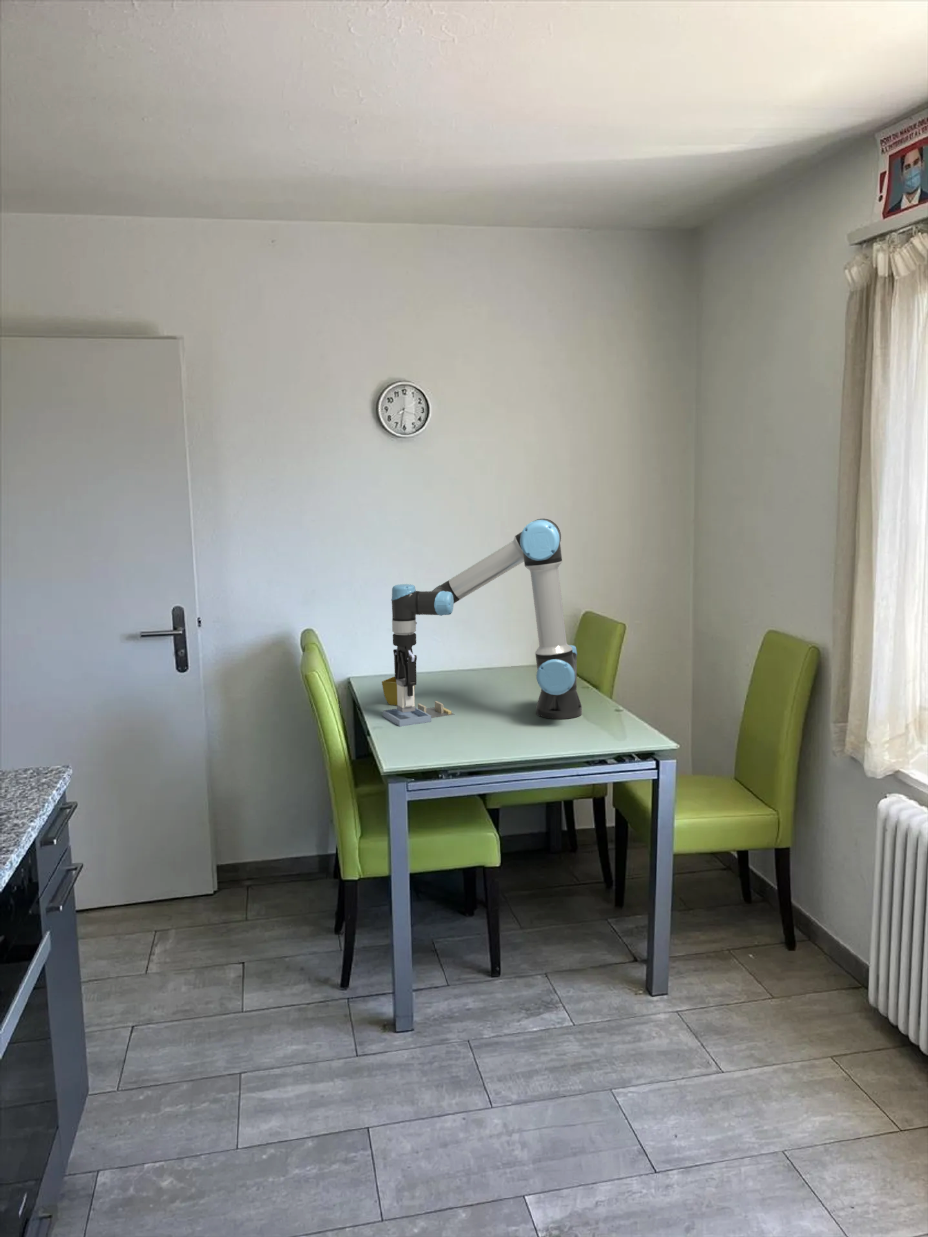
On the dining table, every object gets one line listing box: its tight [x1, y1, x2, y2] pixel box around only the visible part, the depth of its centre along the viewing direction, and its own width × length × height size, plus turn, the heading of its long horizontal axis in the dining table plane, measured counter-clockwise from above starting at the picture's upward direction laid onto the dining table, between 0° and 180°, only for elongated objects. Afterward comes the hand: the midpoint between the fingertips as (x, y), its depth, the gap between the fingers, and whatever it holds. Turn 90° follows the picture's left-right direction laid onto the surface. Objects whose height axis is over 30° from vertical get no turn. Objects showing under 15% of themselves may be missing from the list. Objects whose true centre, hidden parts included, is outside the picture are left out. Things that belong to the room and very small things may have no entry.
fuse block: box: [417, 700, 455, 719], centre depth 303 cm, size 12×10×4 cm
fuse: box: [396, 678, 416, 713], centre depth 294 cm, size 4×4×10 cm
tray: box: [382, 706, 432, 727], centre depth 295 cm, size 14×11×2 cm
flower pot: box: [381, 676, 416, 706], centre depth 315 cm, size 9×9×9 cm
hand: (406, 703), depth 295 cm, fingers closed on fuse, 4 cm apart
